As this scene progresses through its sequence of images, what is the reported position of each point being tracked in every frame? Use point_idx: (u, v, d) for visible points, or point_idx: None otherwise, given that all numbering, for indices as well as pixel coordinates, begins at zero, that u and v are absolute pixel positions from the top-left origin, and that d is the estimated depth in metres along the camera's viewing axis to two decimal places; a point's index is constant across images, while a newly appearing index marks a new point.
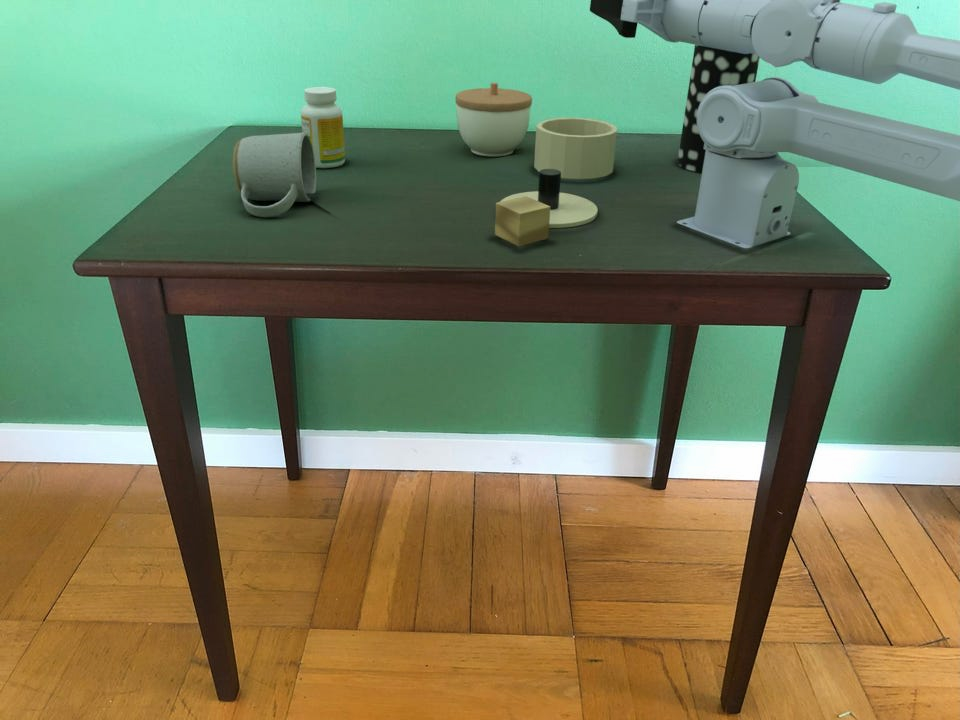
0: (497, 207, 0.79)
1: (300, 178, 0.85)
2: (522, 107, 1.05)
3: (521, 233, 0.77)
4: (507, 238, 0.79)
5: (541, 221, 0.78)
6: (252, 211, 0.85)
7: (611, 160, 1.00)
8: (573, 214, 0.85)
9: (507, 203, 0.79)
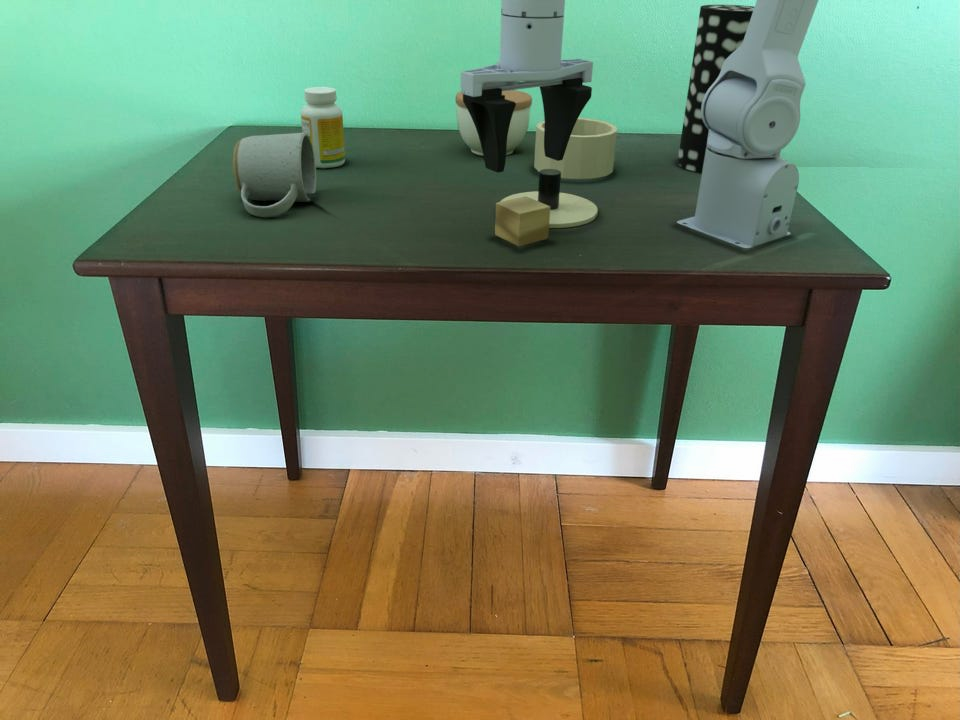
0: (497, 207, 0.79)
1: (300, 178, 0.85)
2: (522, 107, 1.05)
3: (521, 233, 0.77)
4: (507, 238, 0.79)
5: (541, 221, 0.78)
6: (252, 211, 0.85)
7: (611, 160, 1.00)
8: (573, 214, 0.85)
9: (507, 203, 0.79)
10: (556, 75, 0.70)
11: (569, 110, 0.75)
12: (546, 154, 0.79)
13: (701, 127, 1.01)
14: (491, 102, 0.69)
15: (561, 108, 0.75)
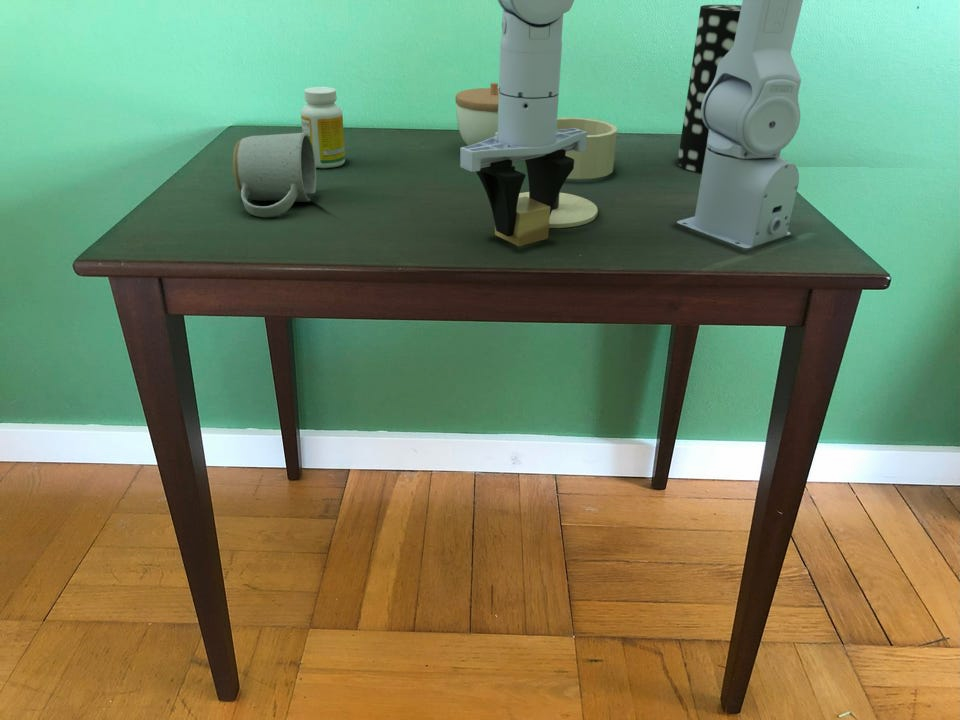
0: None
1: (300, 178, 0.85)
2: None
3: (521, 233, 0.77)
4: (507, 238, 0.79)
5: (541, 221, 0.78)
6: (252, 211, 0.85)
7: (611, 160, 1.00)
8: (573, 214, 0.85)
9: None
10: (551, 149, 0.74)
11: (552, 181, 0.77)
12: None
13: (701, 127, 1.01)
14: (502, 174, 0.73)
15: (545, 178, 0.78)
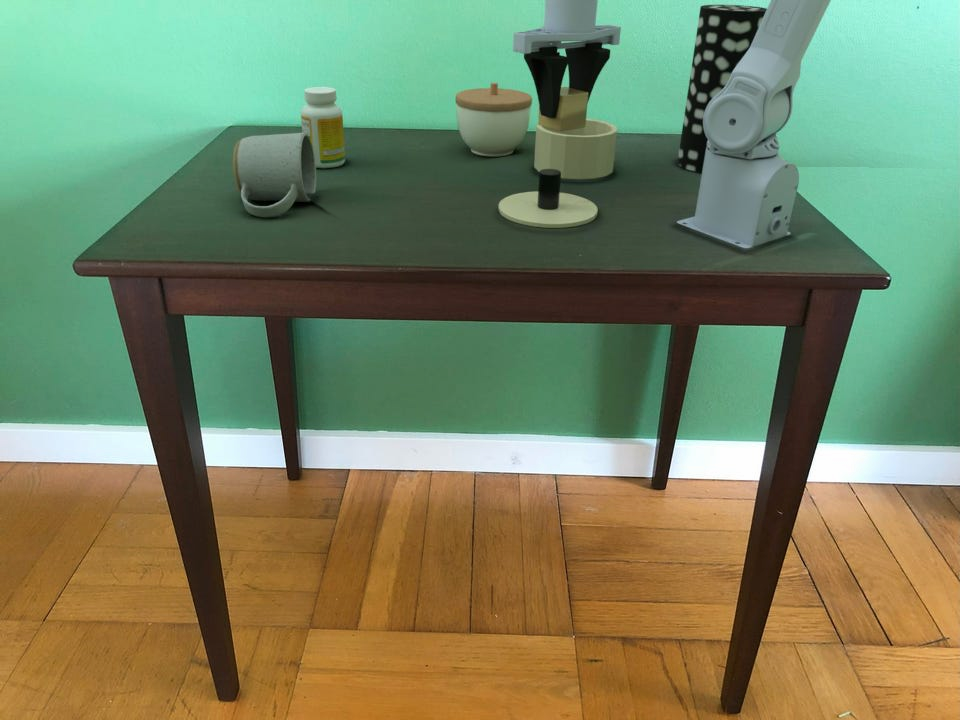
0: None
1: (300, 178, 0.85)
2: (522, 107, 1.05)
3: (563, 115, 0.88)
4: (550, 121, 0.90)
5: (580, 105, 0.89)
6: (252, 211, 0.85)
7: (611, 160, 1.00)
8: (573, 214, 0.85)
9: None
10: (592, 36, 0.84)
11: (591, 69, 0.88)
12: None
13: (701, 127, 1.01)
14: (549, 57, 0.83)
15: (584, 67, 0.89)
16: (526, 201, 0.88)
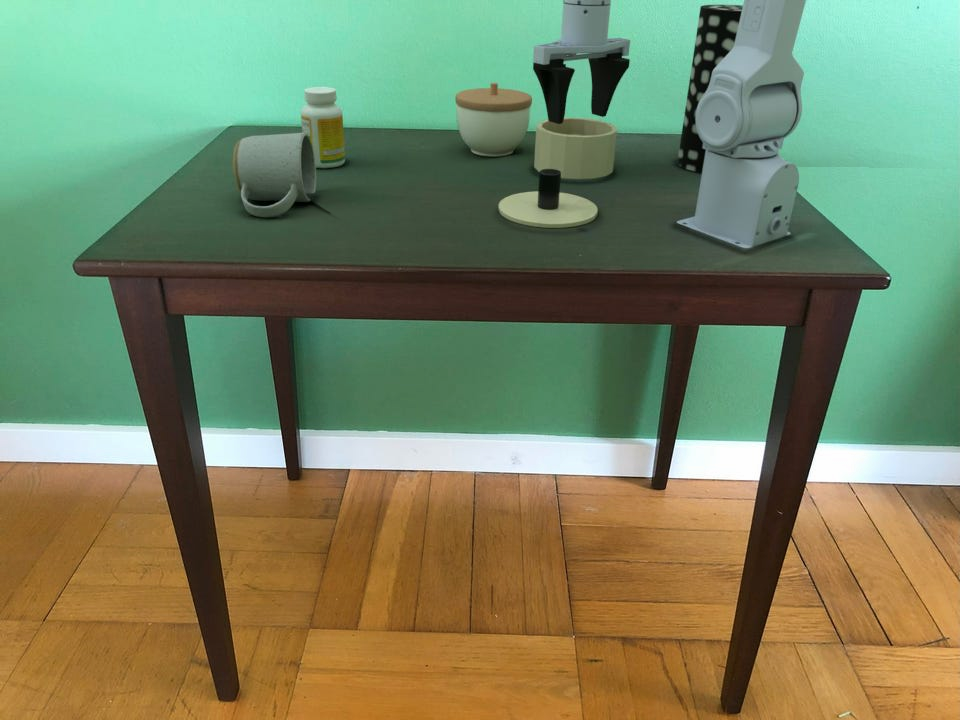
0: None
1: (300, 178, 0.85)
2: (522, 107, 1.05)
3: None
4: None
5: None
6: (252, 211, 0.85)
7: (611, 160, 1.00)
8: (573, 214, 0.85)
9: None
10: (604, 49, 0.94)
11: (612, 77, 0.98)
12: (593, 112, 1.02)
13: None
14: (556, 68, 0.92)
15: (606, 75, 0.98)
16: (526, 201, 0.88)
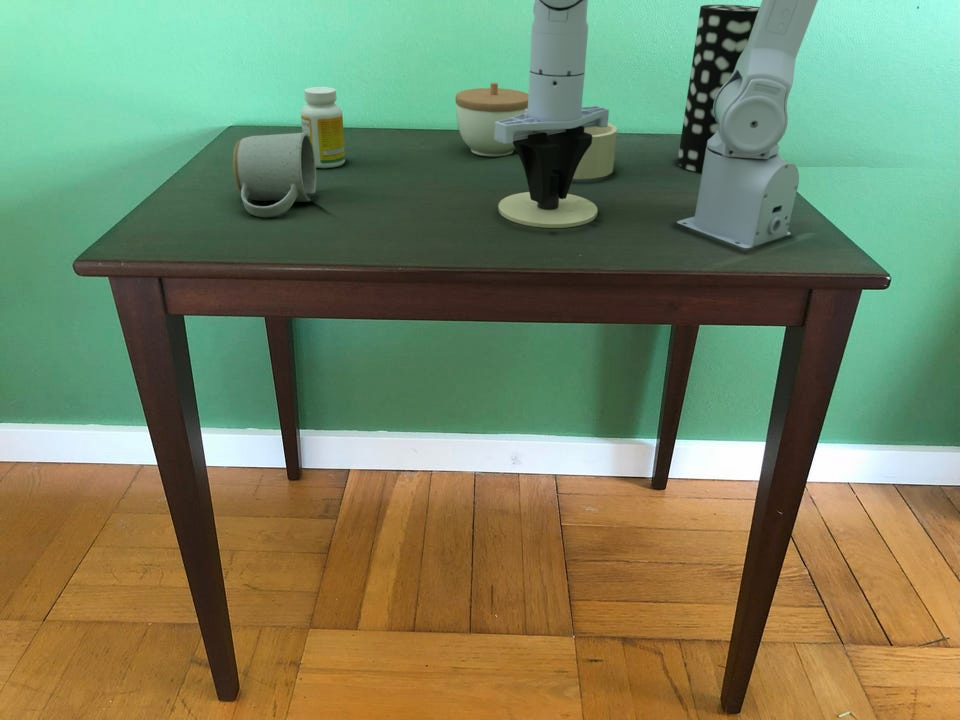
0: None
1: (300, 178, 0.85)
2: (522, 107, 1.05)
3: None
4: None
5: None
6: (252, 211, 0.85)
7: (611, 160, 1.00)
8: (573, 214, 0.85)
9: None
10: (577, 124, 0.81)
11: (572, 155, 0.83)
12: None
13: (701, 127, 1.01)
14: (539, 145, 0.80)
15: (565, 153, 0.84)
16: (526, 201, 0.88)
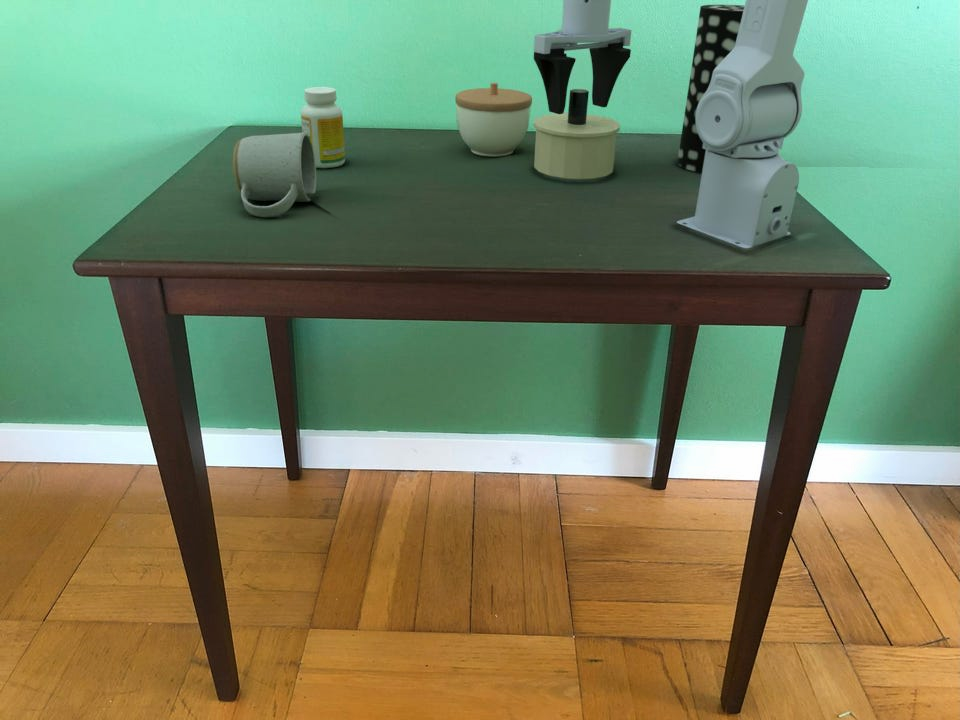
0: None
1: (300, 178, 0.85)
2: (522, 107, 1.05)
3: None
4: None
5: None
6: (252, 211, 0.85)
7: (611, 160, 1.00)
8: (599, 127, 0.98)
9: None
10: (605, 38, 0.93)
11: (613, 67, 0.97)
12: (593, 103, 1.01)
13: None
14: (557, 58, 0.91)
15: (607, 65, 0.98)
16: (557, 119, 1.01)
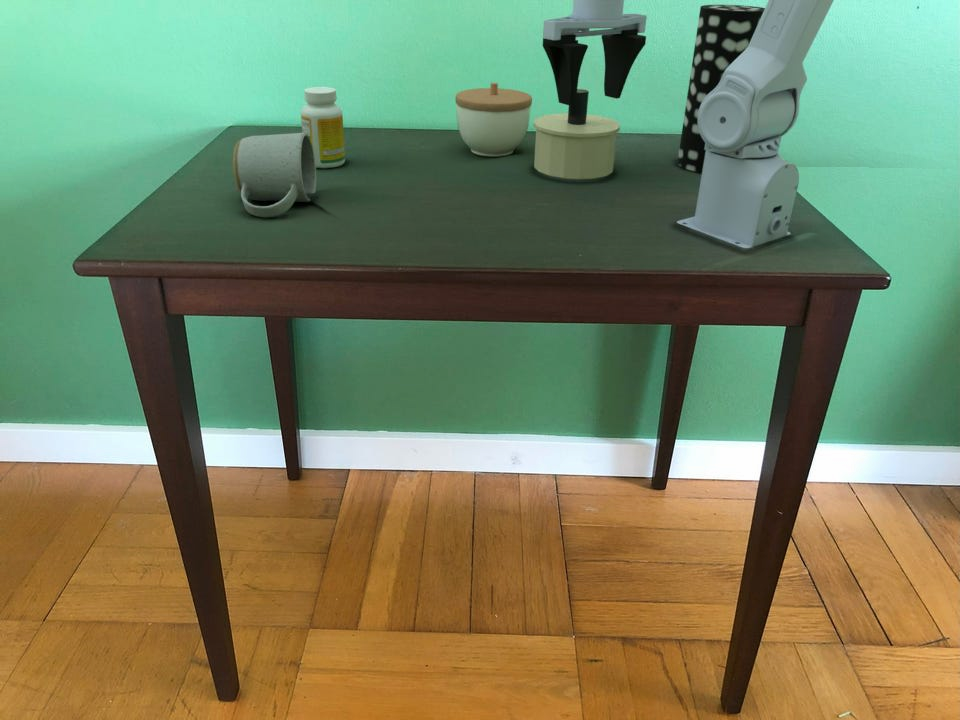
0: None
1: (300, 178, 0.85)
2: (522, 107, 1.05)
3: None
4: None
5: None
6: (252, 211, 0.85)
7: (611, 160, 1.00)
8: (599, 127, 0.98)
9: None
10: (619, 24, 0.87)
11: (627, 55, 0.91)
12: (606, 94, 0.95)
13: None
14: (568, 45, 0.85)
15: (620, 54, 0.92)
16: (557, 119, 1.01)
